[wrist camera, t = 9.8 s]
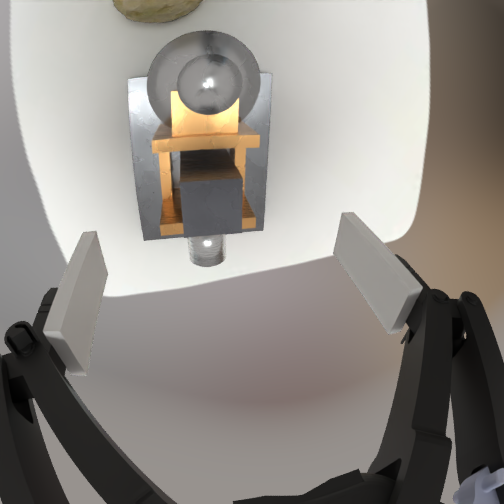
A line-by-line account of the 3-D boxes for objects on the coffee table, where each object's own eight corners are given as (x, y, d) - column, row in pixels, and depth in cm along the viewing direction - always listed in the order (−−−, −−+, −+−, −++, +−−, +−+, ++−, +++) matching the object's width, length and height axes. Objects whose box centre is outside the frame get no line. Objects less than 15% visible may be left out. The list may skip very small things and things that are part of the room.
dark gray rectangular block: (180, 142, 27) (179, 182, 18) (220, 139, 28) (243, 178, 19) (182, 179, 30) (184, 237, 20) (220, 176, 30) (241, 232, 21)
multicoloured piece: (129, 46, 21) (96, 29, 12) (270, 42, 24) (321, 27, 15) (144, 236, 33) (134, 307, 24) (261, 226, 36) (293, 291, 26)
